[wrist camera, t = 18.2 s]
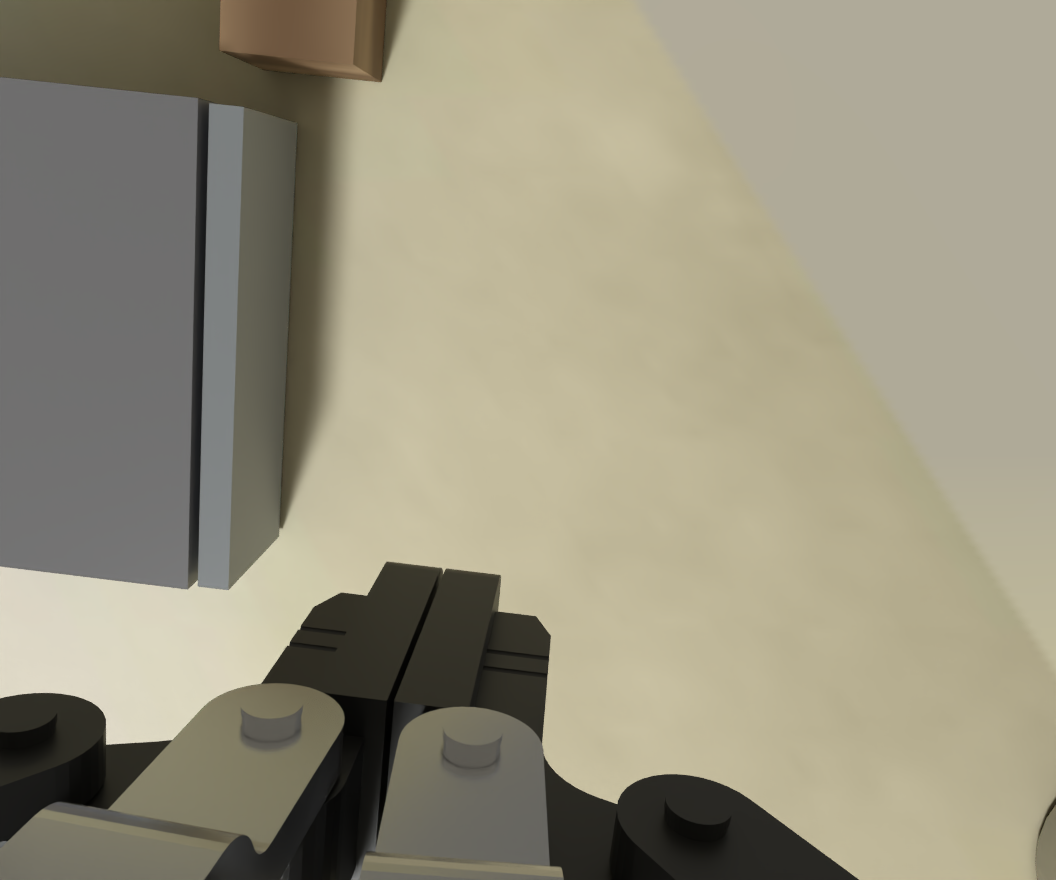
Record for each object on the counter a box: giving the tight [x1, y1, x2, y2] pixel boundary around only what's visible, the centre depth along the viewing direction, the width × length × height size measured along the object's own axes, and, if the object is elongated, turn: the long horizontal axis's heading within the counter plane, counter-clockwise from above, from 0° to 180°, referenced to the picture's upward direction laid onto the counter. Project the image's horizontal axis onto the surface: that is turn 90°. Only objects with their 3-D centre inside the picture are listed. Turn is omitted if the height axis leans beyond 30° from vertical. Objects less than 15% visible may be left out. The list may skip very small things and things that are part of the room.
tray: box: [198, 103, 297, 590], centre depth 32 cm, size 14×15×5 cm
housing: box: [0, 77, 217, 589], centre depth 32 cm, size 14×15×6 cm
